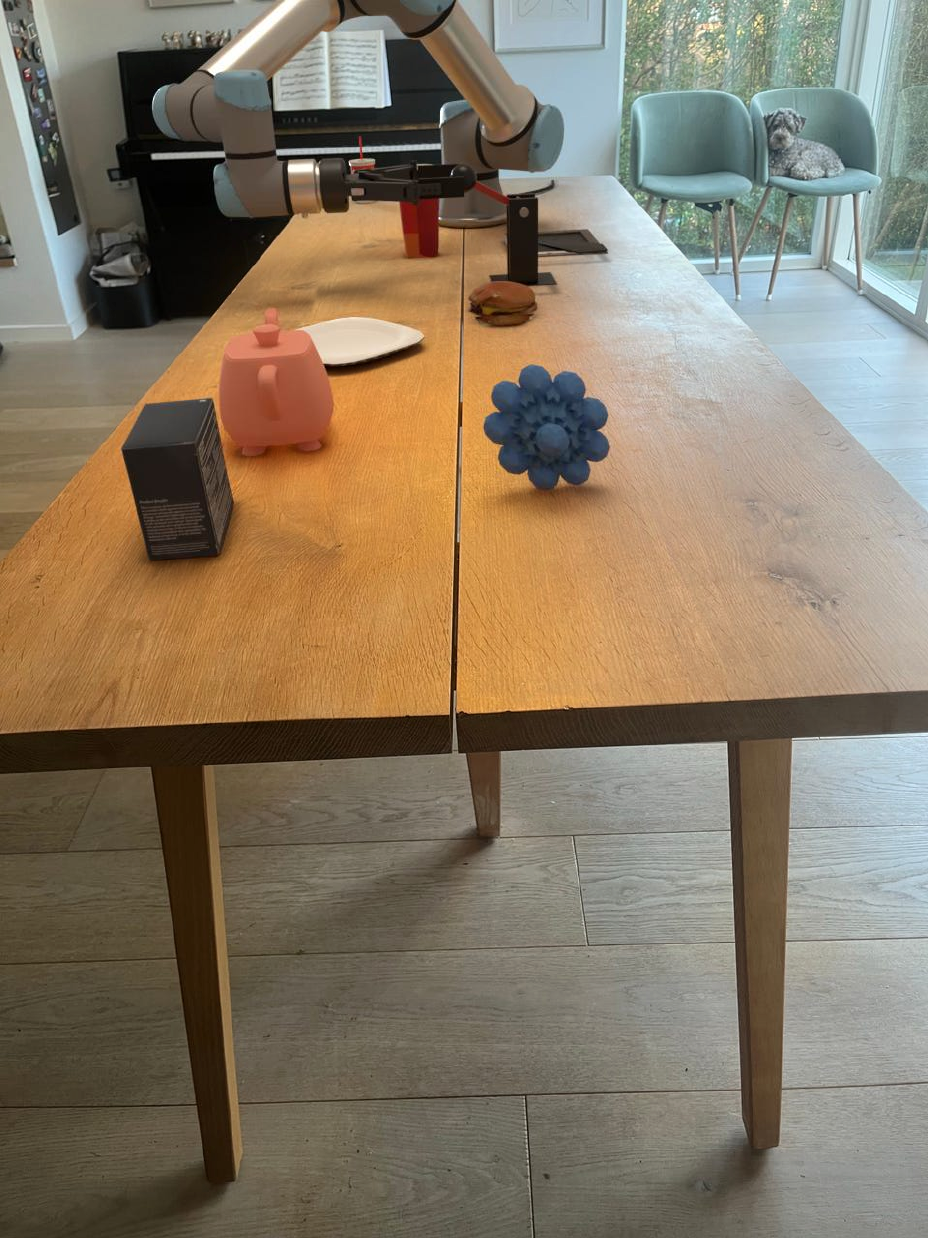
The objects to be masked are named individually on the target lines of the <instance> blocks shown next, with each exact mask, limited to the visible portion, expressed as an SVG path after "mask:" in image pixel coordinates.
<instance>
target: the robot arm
mask: <svg viewBox="0 0 928 1238" xmlns="http://www.w3.org/2000/svg"><path fill="white" fill-rule="evenodd" d="M382 16H383V17H388V18H389V19H390V20H391V21H392V22H393V24H394V25H395V27H396V28H398V30H399V31H400V32H401V34H402V35H403V36H405V38H407V39H410V40H414V41H415V40H418V41H420V42H421V43H422V45H423V46H424V47H425V49H426V50H427V51H428V53H429V54H430V56H431V57H432V58H433V59H434V60H435V62H436V63H437V65H438V66H439V67H440V68H441V69H442V71H443V72H444V73H445V75H446V76H447V78H448V79H449V80H450V81H451V82H452V84H453V85H454V87H455V88H456V89H457V91H459V93H460V94H461V96H462V97H463V98H464V99H460V100H455V101H449V102H446V103H444V104H443V105H442V106H441V108H440V113H439V119H440V120H439V135H440V136H439V137H440V153H441V164H440V163H439V164H432V165H417V164H418V161H417V160H410V161H409V162H410V163H407V164H400V165H393V166H385V167H384V166H383V167H374V169H365V168H363V169H356V170H354V174H352V173H350V174H348V173H347V164H346V161H345V159H344V158H342V157H335V158H321V160H320V161H319V162H317V161H316V159H315V158H305V159H288V160H278V154H277V147H276V138H275V137H276V136H275V130H274V120H273V112H272V99H271V97H270V93H269V92H270V91H269V87H268V81H269V80H270V79H271V78H272V77H273V76H275V74H277V73H278V72H279V71H280V70H281V69H282V68H283V67H284V66H286V64H288V63H289V62H290V61H291V60H292V59H293V58H295V56H296V55H298V54H299V53H300V52H301V51H302V50H303V49H304V48H305V47H306V46H307V45H308V44H309V43H311V42H312V41H313V40H314V39H315V38H316V37H317V36H318V35H320V34H321V33H322V32H323V33H324V32H325V33H330V32H333V31H334V30H335V29H336V28H337V27H338V26H340V25H341V24H342V23H344V22H346V21H349V20H352V19H356V18H362V17H382ZM151 109H152V117H153V119H154V122H155V124H156V126H157V127H158V129H159V130H160V131H161V132H162V134H163V135H165V136H167V137H168V138H171V139H176V140H180V141H184V142H190V141H191V142H213V143H222V145H223V151H224V156H225V157H224V159H225V161H224V162H223V163H220V164H216V165H215V166H214V169H213V183H214V184H213V185H214V195H215V200H216V203H217V206H218V209H219V211H220V212H221V214H223V215H224V216H225V217H228V218H250V219H254V218H264V217H265V218H266V217H280V216H281V217H282V216H295V215H299V214H301V218H303V219H308V217H309V215H314V214H320V213H321V212H322V210H323V211H324V213H326V214H342V213H343V214H344V213H345V214H346V213H347V212H348V211H349V209H350V197H351V201H352V202H354V203H356V202H357V201H375V202H392V203H393V202H398V203H399V202H409V203H412V202H413V205H419V196H420V199H438V198H439V226H442V227H446V228H447V227H448V228H457V229H458V228H459V229H465V228H466V229H469V228H470V229H472V228H473V229H475V228H485V227H493V226H497V225H502V224H504V223H507V219H506V205H505V204H503V203H501V202H499V201H497V200H496V199H494V198H492V197H490V196H488V195H486V194H484V193H482V192H480V191H478V190H476V189H474V188H473V189H472V190H471V191H469V192H467V193H464V176H459V177H450V176H451V173H452V171H453V169H454V168H455V167H456V166H458V165H460V164H467V165H469V166H471V167H472V168H473V169H474V170H475V172H476V175H477V181H478V182H480V183H481V184H483V185H485V186H487V187H489V188H491V189H493V190H495V191H497V192H499V193H501V194H503V195H504V193H503V190H502V186H501V183H500V170H503V171H518V172H528V173H531V174H533V173H543V172H544V173H545V172H546V171H549V170H550V169H552V168H553V167H554V165H555V164H556V163H557V161H558V159H559V157H560V155H561V151H562V149H563V144H564V139H565V122H564V117H563V114H562V112H561V110H560V109H559V107H557V106H556V105H551V104H550V103H546V104H541V103H540V102H539V101H538V99H537V98H536V96H535V95H534V93H533V92H532V90H530V89H529V88H528V86H525V85H523V84H516V82H515V81H514V79H513V78H512V77H511V75H510V74H509V72H508V71H507V70H506V68H505V67H504V65H503V63H501V61H500V59H499V58H498V57H497V55H496V54H495V52H494V51H493V49H492V48H491V46H490V45H489V44H488V42H487V41H486V40H485V38H484V36H483V35H482V34H481V32H480V31H479V29H478V28H477V26H476V25H475V24H474V22H473V20H472V19H471V18H470V16H469V14H467V12H466V10H465V9H464V8H463V6H462V5H461V4H460V2H459V0H274V1H273V2H272V3H271V4H270V5H269V6H268V7H266V9H265V10H263V11H262V12H261V13H260V14H259V15H257V17H256V18H254V19H253V20H252V21H251V22H250V23H248V25H246V26H245V27H244V28H243V29H242V30H241V31H240V32H238V34H236V35H235V36H234V37H233V38H231V40H230V41H229V42H227V43H226V44H225V45H224V46H223V47H222V48H221V49H219V50H218V51H217V52H216V53H215V54H214V55H213V56H212V57H210V58H209V59H208V60H207V61H206V62H205V63H203V64H202V66H200V67H199V68H198V69H197V70H195V71H194V72H193V73H192V74H191V75H189V76H188V77H187V78H186V79H185V80H184V81H182V82H181V83H171V84H167V85H164V86H162V87H160V88H159V89H157V91H156V92H155V94H154V96H153V99H152V104H151ZM417 166H418V169H417ZM554 187H555V180H554V179H551V180H550V185H548V186H545V187H542V188H537V189H534V190H529V191H525V192H519V193H518V194H526V193H535V195H536V194H540V193H543V192H546V191H549V190H551V189H553V188H554Z"/></svg>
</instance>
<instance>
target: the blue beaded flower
mask: <svg viewBox="0 0 928 1238" xmlns="http://www.w3.org/2000/svg"><path fill="white" fill-rule="evenodd" d="M517 381H518V384H517V383H516V382H513V381H509V380H502V381H500V382H498V383H497V384H495V385H493V387H492V391H491V395H490V399H491V402H492V405H493V406H494V407H495V408H496V409H497V410H498V411H493V412H492V413H489V414H488V415H487V416H486V417H485V419H484V422H483V429H482V430H483V432H484V435H485V436H486V438H487V439H488V440H490V441H491V442H492V444H494V445H498V446H500V447H499V451H498V454H497V459H498V463H499V466H501V468H502V469H504V471H505V472H507V473H508V474H512V475H517V476H518V475H522V474H524V473H525V472H526V475H527V478H528V481H529V482H530V483H531V484H532V485H533V486H534V487H535V488H536V489H539V490H542V491H549V490H552V489H554V488H556V486H558V483H559V480H560V477H561V478H562V480H563V481H565V482H566V483H567V484H569V485H573V486H580V485H583V484H585V483H586V482H587V481H588V480H589V478H590V474H591V471H592V469H591V466H590V463H589V462H592V463H599V462H601V461H603V460H605V459H606V458H607V457H608V454H609V452H610V449H611V445H610V443H609V440H608V438H607V437H606V435H605V434H604V433H603V432H602V431H600V430H601V429H603V428H604V427H605V426H606V424H607V421H608V419H609V412H608V409H607V407H606V404H605V403H603V402H602V401H601V400H600V399H599V398H595V397H590V396H586V397H585V394H586V391H587V389H586V384H585V381H584V380H583V379H582V377H581V376H579V375H578V373H576V372H572V371H567V370H563V371H561V372H559V373H557V374H556V375H555V376H554V378H552V376H551V374H550V372H549V371H548V370H547V369H546V368H545V367H544V366H542V365H539V364H538V365H537V364H532V363H531V364H530V363H529V364H528V365H527V366H525V367H523V368H522V369H521V370H520V373H519V377H518V380H517Z"/></svg>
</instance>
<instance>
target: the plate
mask: <svg viewBox="0 0 928 1238" xmlns="http://www.w3.org/2000/svg"><path fill="white" fill-rule="evenodd" d="M295 330H303V331H305V332H307V333H308V334H309V335H310V337H311V339H312V341H313V343H314V345H315V347H316V349H317V351H318V353H319V355H320V358H321V360H322V362H323V365H324V367H347V366H348V367H349V366H356V365H360V364H366V363H370V362H373V361H377V360H379V359H382V358H385V357H388V356H391V355H392V354H395V353H397V352H401V351H404V350H407V349H409V348H411V347H415V346H416V345H418V344H420V343H421V342H422V341H423V340H425V338H426V337H425V335H424V334H423V333H422V332H421V331H420V330H418V329H415V328H413V327H409V326H406V325H403V324H399V323H395V322H390V321H387V320H382V319H379V318H378V319H377V318H372V317H363V316H362V317H361V316H351V317H341V318H335V319H331V320H327V321H322V322H317V323H314V324H310V325H306V326H303V327H299V328H296V329H295Z"/></svg>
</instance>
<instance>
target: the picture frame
mask: <svg viewBox="0 0 928 1238" xmlns="http://www.w3.org/2000/svg"><path fill="white" fill-rule="evenodd" d="M504 244H505V246H506V247H507V232H506V233H504ZM552 252H553V253H552ZM608 254H609V249H608V248H607V247H606V246H605V245H604V243H601V242H600V241H599V240H598V239H597V237H595V236H594V234H593V233H592V232H591V231H590V230H589V229H588V228H586V229H585V228H584V229H565V230H546V231H545V230H544V231H538V258H552V257H553V258H555V257H570V256H571V257H572V256H589V255H590V256H591V255H592V256H593V255H608Z"/></svg>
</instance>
